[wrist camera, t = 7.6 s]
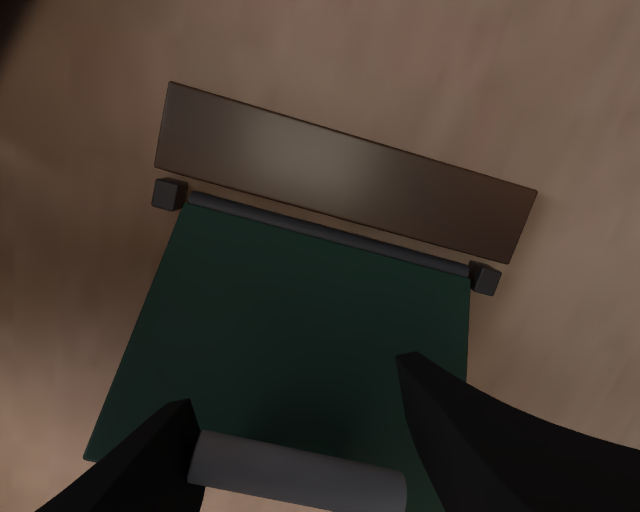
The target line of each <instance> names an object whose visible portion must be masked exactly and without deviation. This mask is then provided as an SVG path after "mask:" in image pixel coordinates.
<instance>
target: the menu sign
mask: <svg viewBox="0 0 640 512" xmlns="http://www.w3.org/2000/svg"><path fill="white" fill-rule="evenodd" d="M468 275H469V267H468V266H467V265H465V264H462V263H458V262H454V261H451V260H447V259H443V258H440V257H436V256H432V255H429V254H425V253H421V252H418V251H414V250H410V249H407V248H403V247H399V246H396V245H392V244H388V243H385V242H381V241H377V240H374V239H370V238H366V237H363V236H359V235H355V234H351V233H348V232H344V231H340V230H337V229H333V228H329V227H326V226H322V225H318V224H315V223H311V222H307V221H304V220H300V219H296V218H293V217H289V216H285V215H282V214H278V213H274V212H271V211H267V210H263V209H260V208H256V207H252V206H249V205H245V204H241V203H238V202H234V201H230V200H227V199H223V198H219V197H215V196H212V195H208V194H204V193H201V192H197V191H192V192H191V193H190V195H189V198H188V203H184V204H183V207H182V209H181V212H180V214H179V217H178V219H177V222H176V224H175V227H174V229H173V232H172V234H171V237H170V239H169V242H168V244H167V247H166V249H165V252H164V254H163V257H162V259H161V262H160V264H159V267H158V269H157V272H156V274H155V277H154V279H153V282H152V284H151V287H150V289H149V292H148V294H147V297H146V299H145V302H144V304H143V307H142V309H141V312H140V314H139V317H138V319H137V322H136V325H135V327H134V330H133V332H132V335H131V337H130V340H129V342H128V345H127V347H126V350H125V352H124V355H123V357H122V360H121V362H120V365H119V367H118V370H117V372H116V375H115V377H114V380H113V382H112V385H111V387H110V390H109V392H108V395H107V397H106V400H105V402H104V405H103V407H102V410H101V412H100V415H99V417H98V420H97V422H96V425H95V427H94V430H93V432H92V435H91V437H90V440H89V442H88V445H87V447H86V450H85V452H84V455H83V459H84V460H87V461H92V462H98V461H100V460H101V459H102V458H103V457H104V456H106V455H107V454H108V453H109V452H110V451H111V450H112V449H114V448H115V447H116V446H117V445H118V444H119V443H120V442H122V441H123V440H124V439H125V438H126V437H127V436H128V435H130V434H131V433H132V432H133V431H134V430H135V429H136V428H138V427H139V426H140V425H141V424H142V423H143V422H144V421H146V420H147V419H148V418H149V417H150V416H151V415H153V414H154V413H155V412H156V411H157V410H159V409H160V408H161V407H162V406H164V405H165V404H167V403H168V402H172V401H177V400H182V399H187V398H190V400H191V403H192V406H193V409H194V412H195V415H196V419H197V422H198V425H199V428H200V431H201V433H200V435H199V438H198V440H197V443H196V446H195V449H194V452H193V456H192V459H191V463H190V466H189V470H188V474H187V482H188V483H191V484H196V485H201V486H206V487H211V488H217V489H222V490H227V491H232V492H237V493H242V494H247V495H252V496H258V497H263V498H268V499H273V500H278V501H283V502H288V503H293V504H299V505H304V506H309V507H314V508H319V509H324V510H329V511H334V512H445V510H444V508H443V506H442V504H441V501H440V499H439V497H438V495H437V493H436V491H435V489H434V487H433V485H432V483H431V481H430V479H429V476H428V474H427V472H426V470H425V468H424V466H423V464H422V462H421V460H420V457H419V455H418V453H417V450H416V447H415V445H414V442H413V439H412V436H411V433H410V430H409V427H408V424H407V421H406V418H405V412H404V406H403V400H402V394H401V388H400V382H399V376H398V370H397V365H396V359H395V355H400V354H405V353H409V352H414V351H418V352H419V353H421V354H422V355H424V356H425V357H427V358H428V359H430V360H431V361H433V362H434V363H436V364H437V365H439V366H440V367H442V368H443V369H445V370H446V371H448V372H450V373H451V374H453V375H454V376H456V377H458V378H459V379H461V380H463V381H464V382H466V376H467V353H468V330H469V307H470V284H471V280H470V279H469V278H468Z"/></svg>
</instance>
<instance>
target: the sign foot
mask: <svg viewBox="0 0 640 512" xmlns="http://www.w3.org/2000/svg"><path fill="white" fill-rule="evenodd" d="M154 167H155V168H158V169H161V170H165V171H168V172H172V173H176V174H179V175H183V176H187V177H190V178H194V179H198V180H201V181H205V182H208V183H212V184H216V185H219V186H223V187H227V188H230V189H234V190H237V191H241V192H245V193H248V194H252V195H256V196H259V197H263V198H267V199H270V200H274V201H277V202H281V203H285V204H288V205H292V206H296V207H299V208H303V209H307V210H310V211H314V212H317V213H321V214H325V215H328V216H332V217H336V218H339V219H343V220H346V221H350V222H354V223H357V224H361V225H365V226H368V227H372V228H376V229H379V230H383V231H386V232H390V233H394V234H397V235H401V236H405V237H408V238H412V239H416V240H419V241H423V242H426V243H430V244H434V245H437V246H441V247H445V248H448V249H452V250H455V251H459V252H463V253H466V254H470V255H474V256H477V257H481V258H485V259H488V260H492V261H495V262H499V263H503V264H509V263H510V260H511V258H512V255H513V253H514V250H515V248H516V245H517V243H518V240H519V238H520V235H521V233H522V230H523V228H524V225H525V223H526V221H527V218H528V216H529V213H530V211H531V208H532V206H533V203H534V201H535V198H536V196H537V193H538V191H537V190H534V189H531V188H528V187H524V186H521V185H518V184H514V183H511V182H508V181H504V180H501V179H498V178H494V177H491V176H488V175H484V174H481V173H478V172H474V171H471V170H468V169H464V168H461V167H457V166H454V165H451V164H447V163H444V162H441V161H437V160H434V159H431V158H427V157H424V156H421V155H417V154H414V153H411V152H407V151H404V150H401V149H397V148H394V147H391V146H387V145H384V144H381V143H377V142H374V141H371V140H367V139H364V138H361V137H357V136H354V135H350V134H347V133H344V132H340V131H337V130H334V129H330V128H327V127H324V126H320V125H317V124H314V123H310V122H307V121H304V120H300V119H297V118H294V117H290V116H287V115H284V114H280V113H277V112H274V111H270V110H267V109H264V108H260V107H257V106H253V105H250V104H247V103H243V102H240V101H237V100H233V99H230V98H227V97H223V96H220V95H217V94H213V93H210V92H207V91H203V90H200V89H197V88H193V87H190V86H187V85H183V84H180V83H177V82H173V81H169V83H168V89H167V94H166V100H165V106H164V111H163V117H162V122H161V128H160V134H159V139H158V145H157V151H156V156H155V162H154ZM187 187H188V183H186V182H183V181H179V180H176V179H172V178H159V179H156V181H155V187H154V192H153V198H152V203H151V204H152V206H153V207H157V208H161V209H165V210H168V211H176V210H178V209H181V208H182V207H183V204H184V202H185V197H186V192H187ZM468 267H469V275H468V278H469V279H470V280H471V284H470V289H472V290H473V291H474V292H477V293H481V294H485V295H489V296H493V295H494V293H495V290H496V288H497V285H498V283H499V280H500V278H501V275H502V273H501V272H500V271H498V270H496V269H494V268H493V267H491V266H489V265H487V264H483V263H479V262H476V261H470V263H469V266H468Z"/></svg>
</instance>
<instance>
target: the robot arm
mask: <svg viewBox="0 0 640 512" xmlns="http://www.w3.org/2000/svg"><path fill="white" fill-rule="evenodd" d="M395 359H396V365H397V370H398V376H399V382H400V388H401V394H402V400H403V406H404V412H405V418H406V421H407V424H408V427H409V430H410V433H411V436H412V439H413V442H414V445H415V447H416V450H417V453H418V455H419V457H420V460H421V462H422V464H423V466H424V468H425V470H426V472H427V474H428V476H429V479H430V481H431V483H432V485H433V487H434V489H435V491H436V493H437V495H438V497H439V499H440V501H441V504H442V506H443V508H444V510H445V512H640V450H638V449H634V448H630V447H626V446H623V445H619V444H615V443H612V442H608V441H605V440H602V439H598V438H595V437H591V436H588V435H585V434H582V433H579V432H577V431H574V430H571V429H568V428H565V427H562V426H559V425H556V424H553V423H551V422H548V421H545V420H543V419H540V418H538V417H535V416H533V415H531V414H528V413H526V412H524V411H521V410H519V409H517V408H514V407H512V406H510V405H508V404H506V403H504V402H501V401H499V400H498V399H496V398H494V397H492V396H490V395H488V394H486V393H484V392H482V391H480V390H478V389H477V388H475V387H473V386H471V385H469V384H468V383H466V382H464V381H463V380H461V379H459V378H458V377H456V376H454V375H453V374H451V373H450V372H448V371H446V370H445V369H443V368H442V367H440V366H439V365H437V364H436V363H434V362H433V361H431V360H430V359H428V358H427V357H425V356H424V355H422V354H421V353H419V352H418V351H414V352H409V353H405V354H400V355H395ZM200 433H201V431H200V428H199V425H198V422H197V419H196V415H195V412H194V409H193V406H192V403H191V400H190V398H187V399H182V400H177V401H172V402H168V403H167V404H165V405H164V406H162V407H161V408H160V409H159V410H157V411H156V412H155V413H154V414H153V415H151V416H150V417H149V418H148V419H147V420H146V421H144V422H143V423H142V424H141V425H140V426H139V427H138V428H136V429H135V430H134V431H133V432H132V433H131V434H130V435H128V436H127V437H126V438H125V439H124V440H123V441H122V442H120V443H119V444H118V445H117V446H116V447H115V448H114V449H112V450H111V451H110V452H109V453H108V454H107V455H106V456H104V457H103V458H102V459H101V460H100V461H98V462H97V463H96V464H95V465H93V466H92V467H91V468H90V469H89V470H87V471H86V472H85V473H84V474H83V475H81V476H80V477H79V478H78V479H76V480H75V481H74V482H73V483H72V484H70V485H69V486H68V487H67V488H65V489H64V490H63V491H62V492H60V493H59V494H58V495H56V496H55V497H54V498H52V499H51V500H50V501H48V502H47V503H46V504H44V505H43V506H42V507H40V508H39V509H37V510H36V511H35V512H200V508H201V505H202V501H203V497H204V492H205V486H201V485H196V484H191V483H188V482H187V474H188V470H189V466H190V463H191V459H192V456H193V452H194V449H195V446H196V443H197V440H198V438H199V435H200Z"/></svg>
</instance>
